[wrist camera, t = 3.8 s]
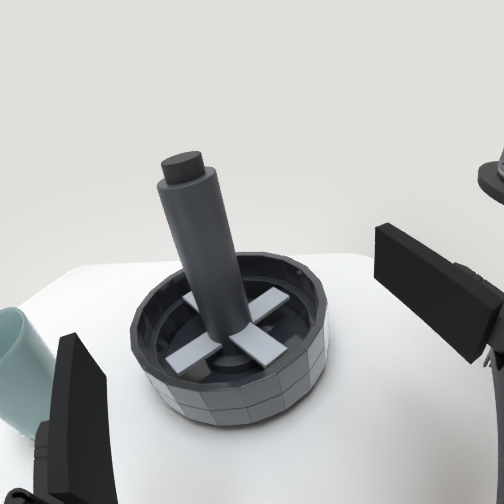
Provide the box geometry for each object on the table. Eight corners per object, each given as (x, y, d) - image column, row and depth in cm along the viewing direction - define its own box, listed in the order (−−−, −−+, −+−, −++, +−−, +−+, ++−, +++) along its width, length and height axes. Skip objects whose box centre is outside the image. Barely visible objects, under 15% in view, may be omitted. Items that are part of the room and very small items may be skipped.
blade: (246, 288, 32) (209, 131, 24) (332, 340, 24) (318, 136, 16) (152, 347, 27) (77, 183, 19) (222, 430, 19) (121, 218, 11)
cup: (103, 424, 21) (32, 341, 16) (38, 467, 17) (-45, 394, 12) (74, 373, 27) (20, 294, 21) (20, 410, 22) (-43, 338, 17)
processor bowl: (283, 280, 34) (276, 235, 31) (362, 380, 22) (368, 331, 19) (149, 328, 31) (127, 285, 28) (172, 456, 19) (138, 420, 16)
